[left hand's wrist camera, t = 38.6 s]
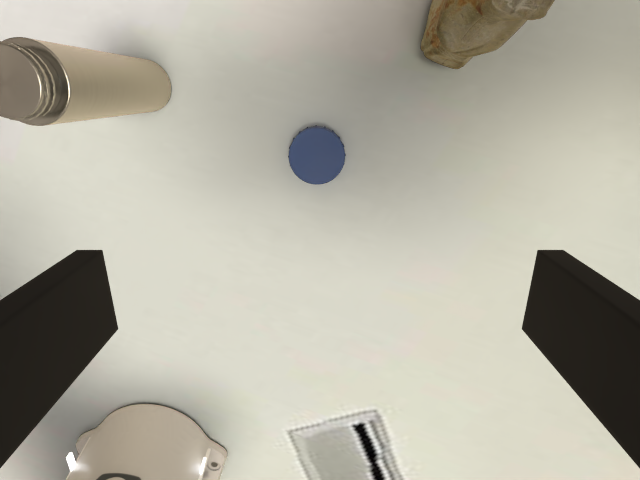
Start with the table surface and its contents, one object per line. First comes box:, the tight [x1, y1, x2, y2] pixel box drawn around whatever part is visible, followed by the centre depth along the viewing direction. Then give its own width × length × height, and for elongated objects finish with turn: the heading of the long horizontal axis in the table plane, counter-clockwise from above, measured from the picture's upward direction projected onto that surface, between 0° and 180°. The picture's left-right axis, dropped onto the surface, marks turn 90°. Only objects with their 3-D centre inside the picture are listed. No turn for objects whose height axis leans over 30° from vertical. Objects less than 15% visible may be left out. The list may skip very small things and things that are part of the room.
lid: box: [288, 125, 345, 184], centre depth 38 cm, size 5×5×2 cm
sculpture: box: [421, 0, 555, 69], centre depth 28 cm, size 6×7×15 cm
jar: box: [0, 37, 171, 126], centre depth 29 cm, size 4×4×18 cm
